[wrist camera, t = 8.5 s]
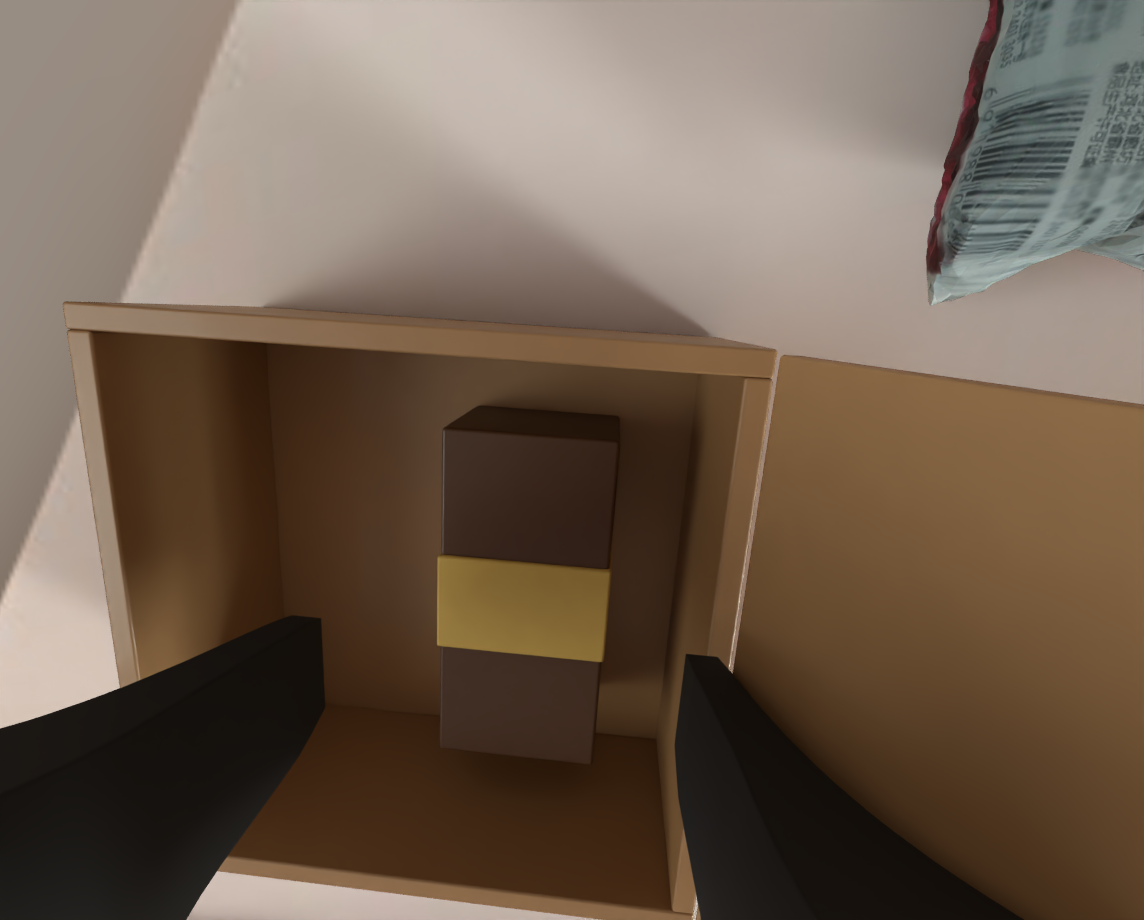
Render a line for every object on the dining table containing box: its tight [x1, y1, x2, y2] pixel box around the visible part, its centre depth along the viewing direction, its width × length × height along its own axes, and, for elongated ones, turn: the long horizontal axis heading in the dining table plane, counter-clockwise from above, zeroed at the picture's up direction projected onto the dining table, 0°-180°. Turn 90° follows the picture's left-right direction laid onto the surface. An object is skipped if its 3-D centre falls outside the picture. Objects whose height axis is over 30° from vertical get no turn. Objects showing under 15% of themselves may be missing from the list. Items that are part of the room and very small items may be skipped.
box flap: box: [696, 355, 1144, 920], centre depth 8 cm, size 6×13×1 cm
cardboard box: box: [63, 302, 777, 920], centre depth 15 cm, size 13×13×6 cm
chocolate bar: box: [437, 405, 620, 765], centre depth 15 cm, size 8×4×4 cm, turn 176°
